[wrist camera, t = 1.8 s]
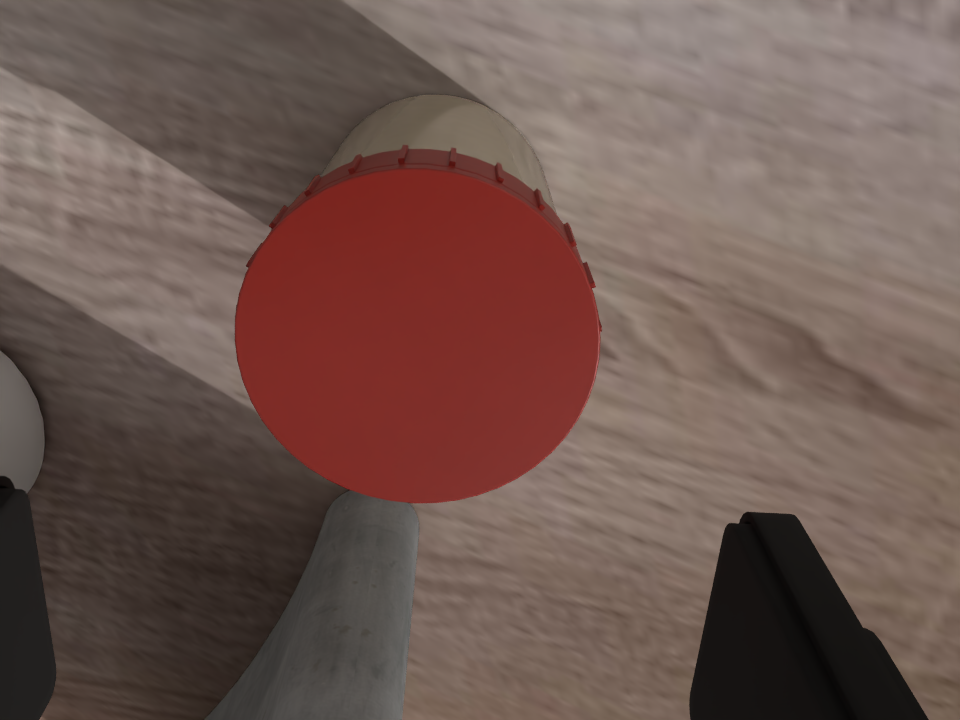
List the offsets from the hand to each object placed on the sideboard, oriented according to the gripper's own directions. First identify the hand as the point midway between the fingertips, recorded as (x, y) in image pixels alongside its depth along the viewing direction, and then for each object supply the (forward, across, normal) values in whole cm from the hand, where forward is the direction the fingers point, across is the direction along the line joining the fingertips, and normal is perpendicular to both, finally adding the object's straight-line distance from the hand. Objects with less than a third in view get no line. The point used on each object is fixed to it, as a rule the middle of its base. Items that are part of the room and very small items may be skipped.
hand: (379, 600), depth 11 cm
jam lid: (+7, 0, 0) cm, 7 cm away
